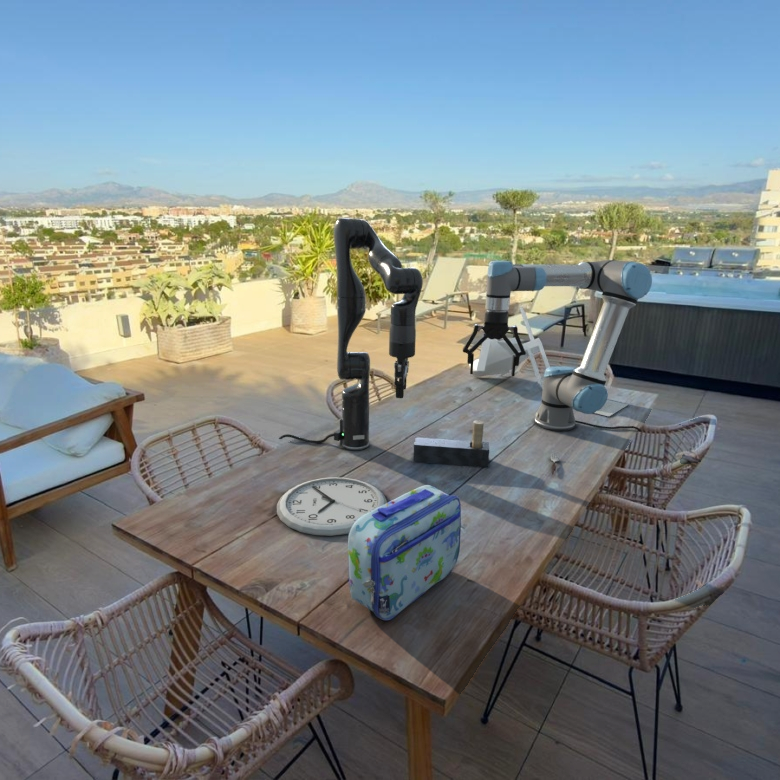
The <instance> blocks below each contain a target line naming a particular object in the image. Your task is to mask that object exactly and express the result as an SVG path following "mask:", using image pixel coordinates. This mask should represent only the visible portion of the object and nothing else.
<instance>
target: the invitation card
mask: <svg viewBox="0 0 780 780" xmlns="http://www.w3.org/2000/svg"><path fill="white" fill-rule="evenodd" d="M628 406H629V404H627V403H623V402H618V401H614V400H609V399H607V401H606V403H605V404H604V406H603V407H602V408H601V409H600V410H598V411H596V412H595V413H594V414H596V415H600V416H604V417H608V418H609V417H611V416H613V415H614V414H616V413H617V412H619V411H621V410H623V409H624V408H626V407H628Z"/></svg>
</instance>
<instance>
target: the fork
mask: <svg viewBox="0 0 780 780" xmlns="http://www.w3.org/2000/svg"><path fill="white" fill-rule="evenodd" d="M550 460H551V461H552V462H553V463H552V464H551V475H554V472H555V470H556V467H557V466H556V462H559V461H560V453H558V452H556V451H554V450H552V451H551V456H550Z"/></svg>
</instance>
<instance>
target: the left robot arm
mask: <svg viewBox="0 0 780 780" xmlns="http://www.w3.org/2000/svg"><path fill="white" fill-rule="evenodd" d="M333 243H334V253H335V263H336V312H337V358H336V371H337V372H336V373H337V376H338V378H339V379H340V380H342V381H355V380H358V381H357V382H356V383H354V384H352V385H350V386H347V387H345V388H344V389H342V391H341V418H340V419H339V429H338V430H336V431H334V432H333V433H330V434H328V435H326V436H325V437H324V438H323V439H319V440H315V439H314V440H312V439H307V438H305V437H300V438H299V436H296V435H294V434H288V433H286V434H283V435H281V436H279V438H278V440H283V439H285V438H292V439H294V440H298V441H302V442H305V443H309V444H321V443H324V442H326V441H328V440H329V439H330V438H332V437H333V441H336V442H339V446H342V447H343V448H344V449H345V450H349V451H362V450H365V449H367V448H369V446H370V374H371V358H370V354H369V353H368V352H367V351H348V347H349V344H350V340H351V339H352V336H353V335H354V333H355V331H356V330H357V328H358V326H359V325H360V323H361V321H362V320H363V319H364V316H365V314H366V309H367V308H366V303H367V301H366V299H367V298H366V289H365V287H364V285H363V283H362V280H360V277H359V276H358V274H357V272H356V271H355V269H354V266H353V264H352V258H351V250H365V251H366V252H368V253H367V259H368V260H367V261H368V263H369V265H370V267H371V268H372V269H373V270H374V271H375V272H376V273H377V274H378V275H379V276H380V278H381V281H382V283H383V285H384V288H385V290H386V291H387V292H388V293H390V294H392V295H403V297H402V298H401V300H399V301H396V302H394V303H392V304H391V306H390V321H389V322H390V325H389V331H388V355H389V356H390V357H393V358H396V360H395V362H394V364H393V367H394V375H393V377H394V382H393V384H394V386H395V398H396V399H403V398H404V397H405V396H404V395H405V393H404V392H405V390H406V389H407V377H408V374H409V367H410V361H409V359H410V358H413V357H414V356H416V336H417V334H416V333H417V332H416V312H417V311H416V310H417V307H418V303H419V300H420V297H421V293H422V289H423V285H424V280H423V279H424V278H423V275H422V273H421V271H420V270H419V269H418V268H416V267H403V265H402V262H401V260H400V259H399V258H398V256H396V255H395V254H394V253H393V252H392V251H390V249H389V248H388V247H386V246H385V244H384V243H383V242H382V240H381V239H380V237H379V236H378V234H377V233H376V231H375V230H374V228H373V227H372V226H371V224H370V222H368V221H367V220H365V219H361V218H351V217H350V218H349V217H339V218H338V219H337V220H336V221H335V224H334V227H333Z"/></svg>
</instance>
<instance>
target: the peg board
mask: <svg viewBox="0 0 780 780" xmlns="http://www.w3.org/2000/svg"><path fill="white" fill-rule="evenodd" d="M489 459H490V443H489V442H488V441H482V448H472V440H461V439H460V440H458V439H446V438H429V437H415V439H414V443H413V463H425V464H438V465H441V464H442V465H451V466H465V467H466V466H467V467H480V468H489Z"/></svg>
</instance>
